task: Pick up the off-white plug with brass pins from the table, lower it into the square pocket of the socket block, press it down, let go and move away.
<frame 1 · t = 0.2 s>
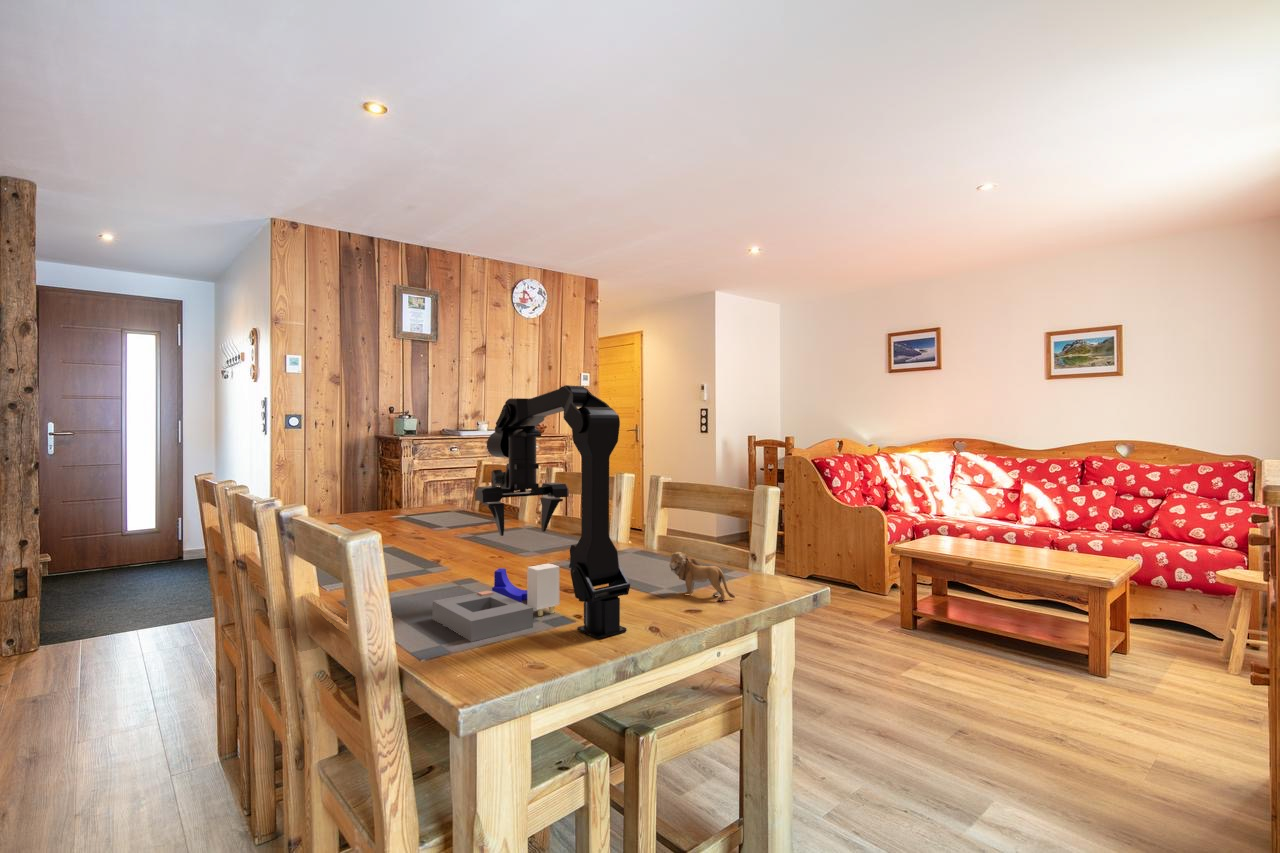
hand: (522, 533, 132), 14 cm above the table, tool pointing down, fingers open, 9 cm apart
blue pipe saddle bracket: (523, 601, 133), on the table
socket block: (481, 623, 117), on the table
lion figurine: (699, 597, 136), on the table
plug: (543, 613, 123), on the table
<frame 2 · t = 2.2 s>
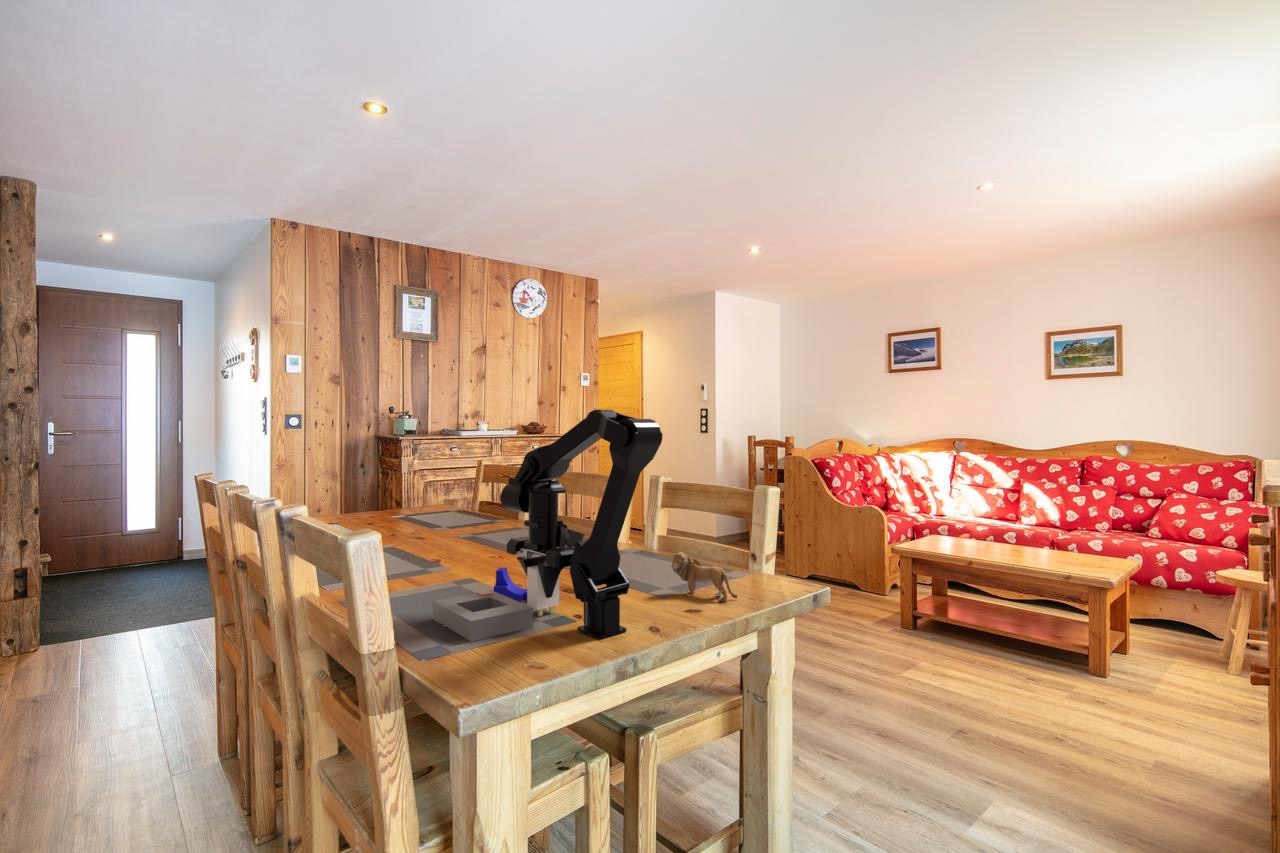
hand: (543, 595, 123), 3 cm above the table, tool pointing down, fingers closed on plug, 4 cm apart
plug: (543, 613, 123), on the table, touching gripper
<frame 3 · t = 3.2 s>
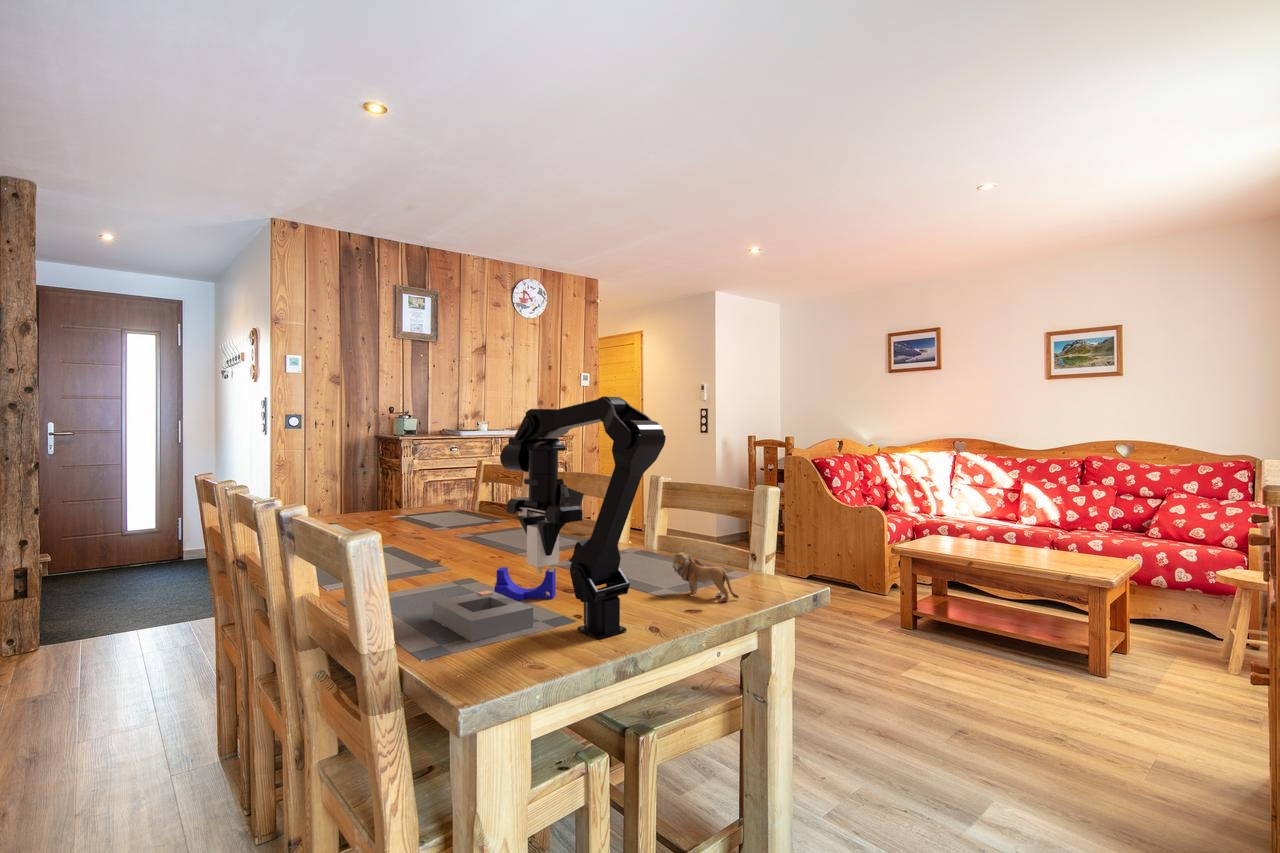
hand: (543, 553, 123), 12 cm above the table, tool pointing down, fingers closed on plug, 4 cm apart
plug: (542, 571, 123), point 8 cm above the table, touching gripper
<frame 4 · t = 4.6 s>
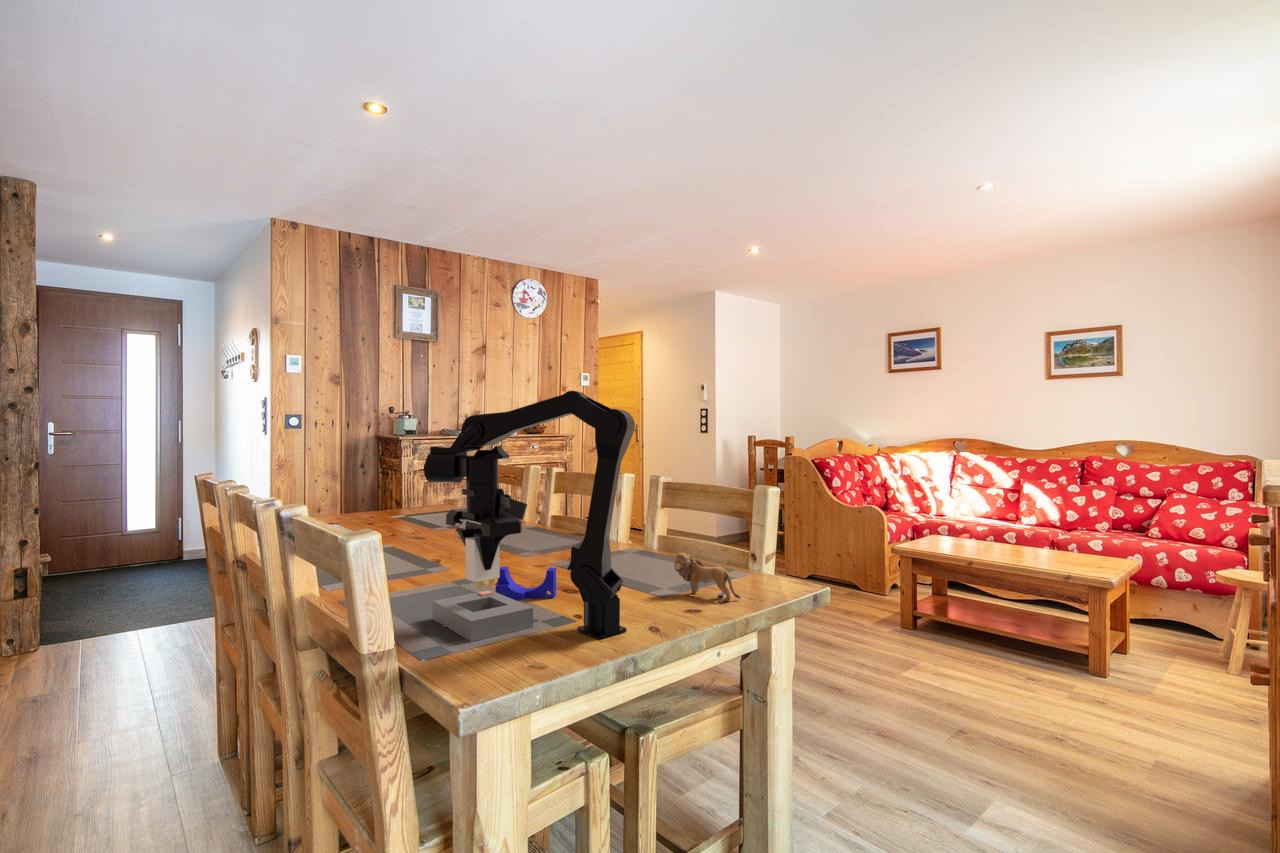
hand: (482, 568, 117), 10 cm above the table, tool pointing down, fingers closed on plug, 4 cm apart
plug: (482, 586, 117), point 7 cm above the table, touching gripper
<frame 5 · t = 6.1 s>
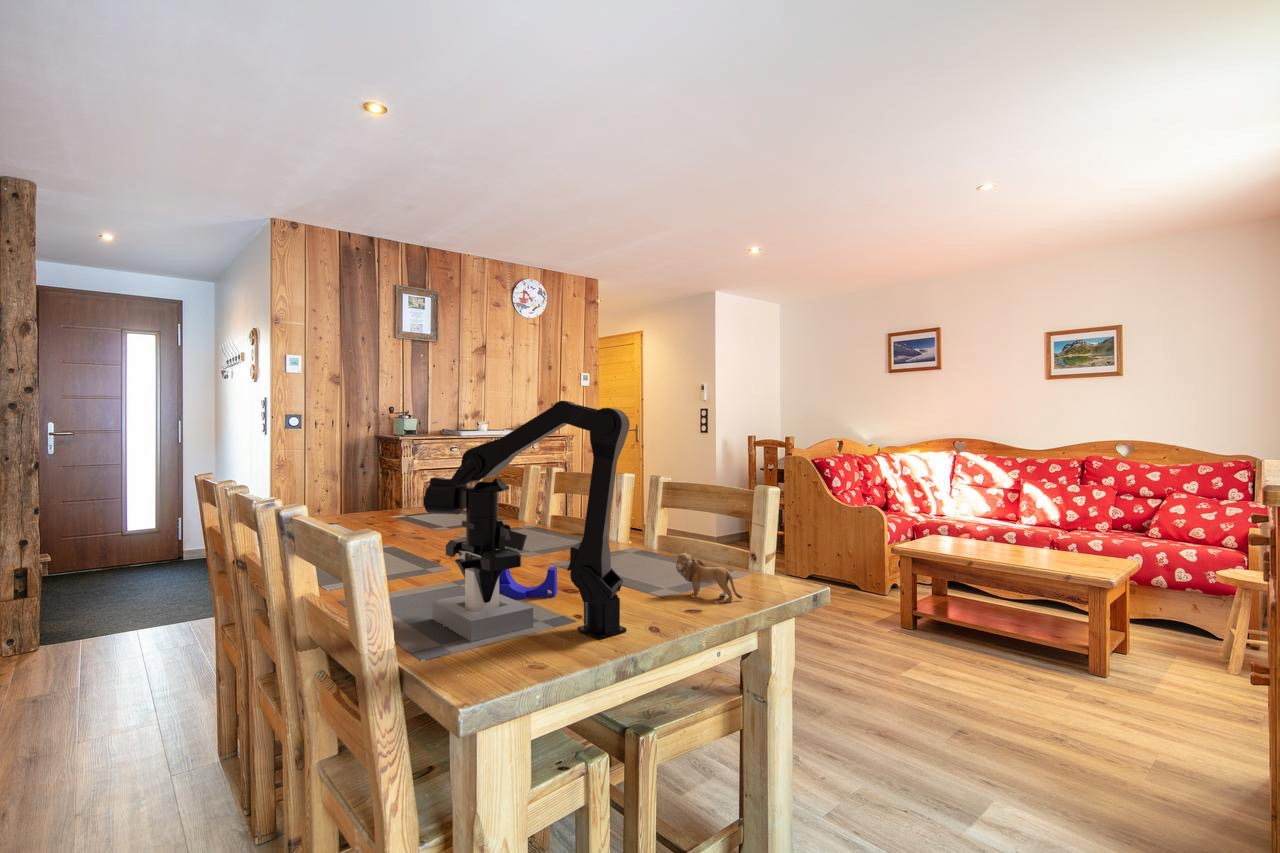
hand: (482, 599, 117), 4 cm above the table, tool pointing down, fingers closed on plug, 4 cm apart
plug: (482, 617, 117), point 1 cm above the table, touching gripper, socket block
when the fingers open (4 cm above the table, at t = 6.9 s): plug stays where it is, resting on socket block.
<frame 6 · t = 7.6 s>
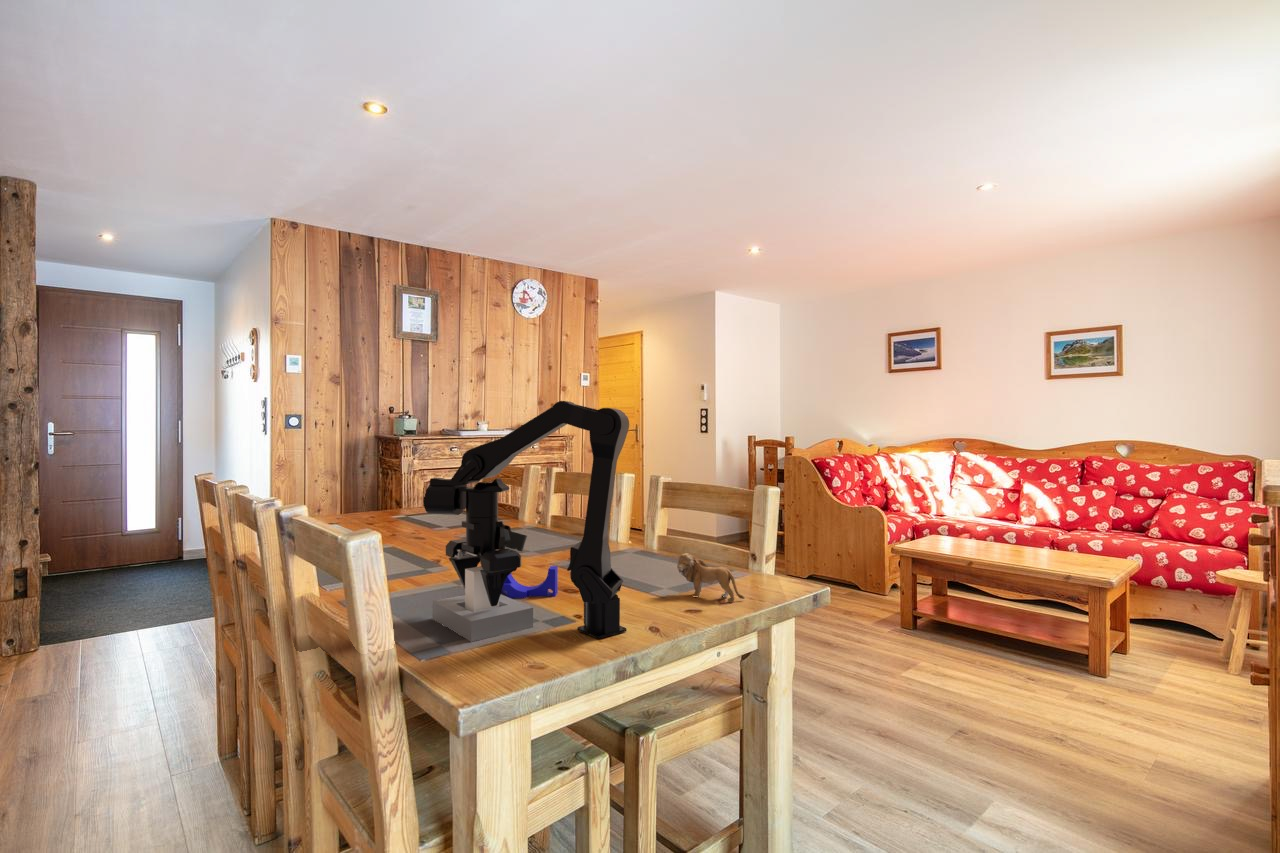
hand: (481, 600, 117), 4 cm above the table, tool pointing down, fingers open, 9 cm apart
plug: (482, 617, 117), point 1 cm above the table, touching socket block
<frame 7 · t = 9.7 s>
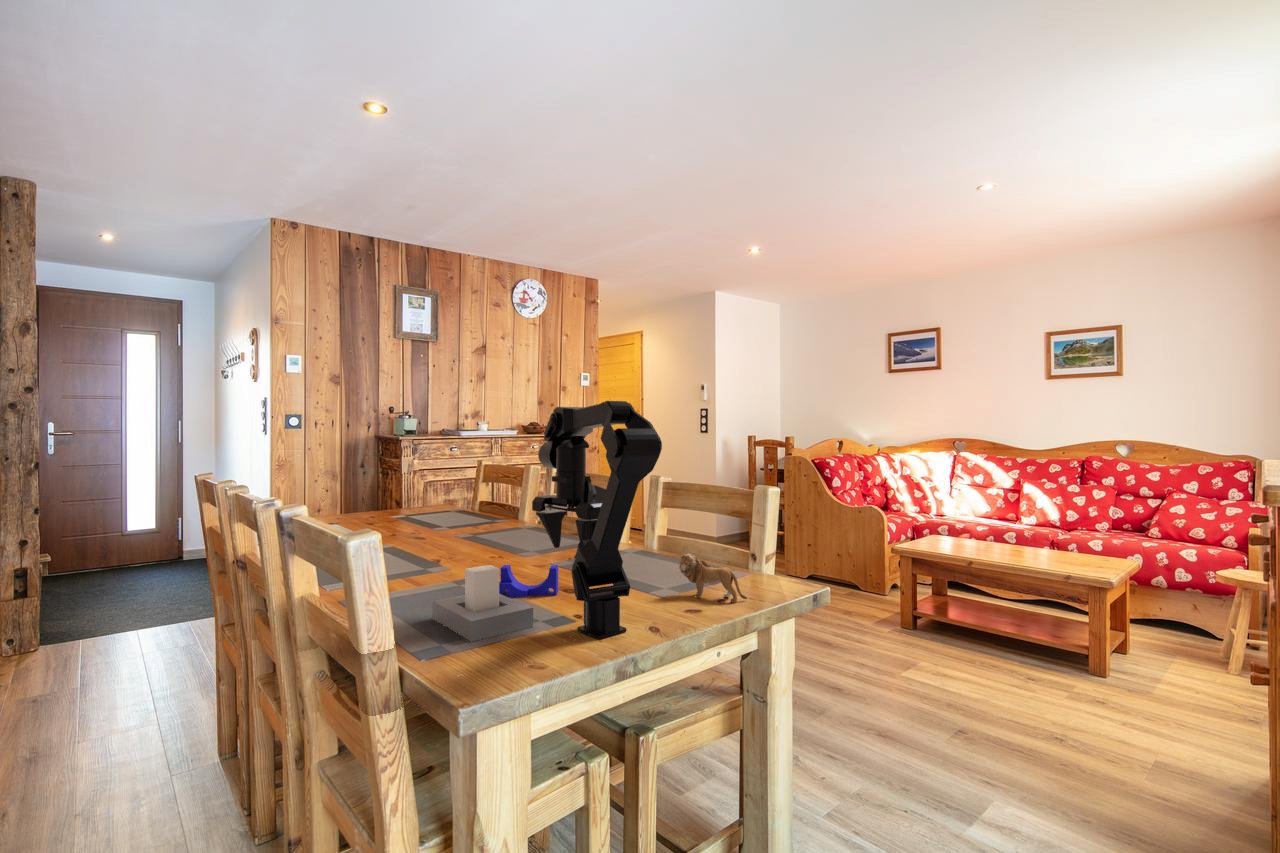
hand: (571, 550, 124), 12 cm above the table, tool pointing down, fingers open, 9 cm apart
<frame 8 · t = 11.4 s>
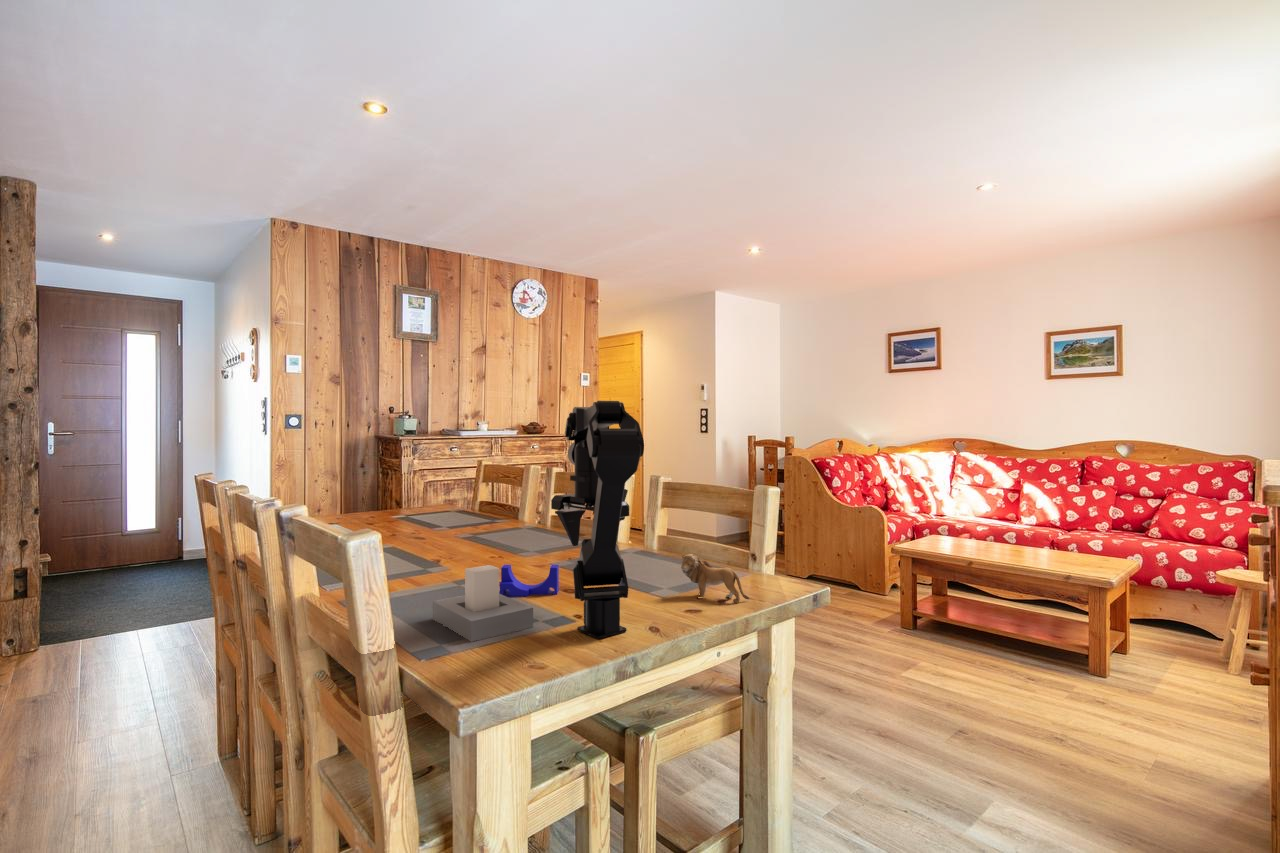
hand: (588, 549, 125), 12 cm above the table, tool pointing down, fingers open, 9 cm apart
at the end: plug 0.0 cm off-centre on the socket block, point 1.1 cm above the socket block's base; plug tilted 0°; the gripper is holding nothing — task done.
